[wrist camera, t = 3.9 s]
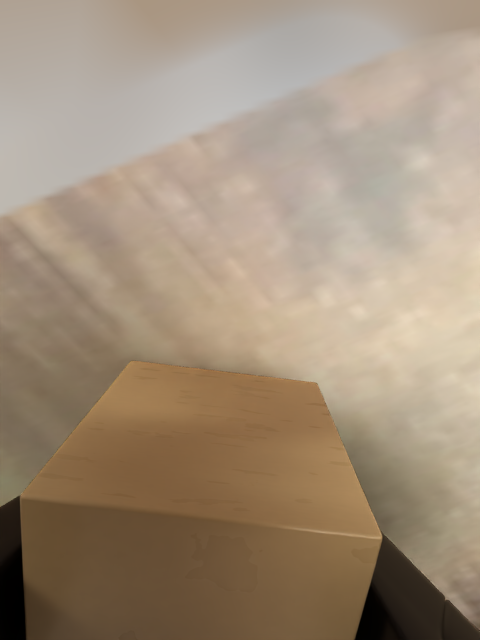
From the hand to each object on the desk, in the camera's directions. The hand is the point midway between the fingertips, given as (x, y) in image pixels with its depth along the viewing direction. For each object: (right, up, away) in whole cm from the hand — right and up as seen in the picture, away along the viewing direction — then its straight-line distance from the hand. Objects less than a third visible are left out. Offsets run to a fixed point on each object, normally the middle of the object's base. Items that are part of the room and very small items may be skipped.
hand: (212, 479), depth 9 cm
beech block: (0, 0, +1) cm, 1 cm away
